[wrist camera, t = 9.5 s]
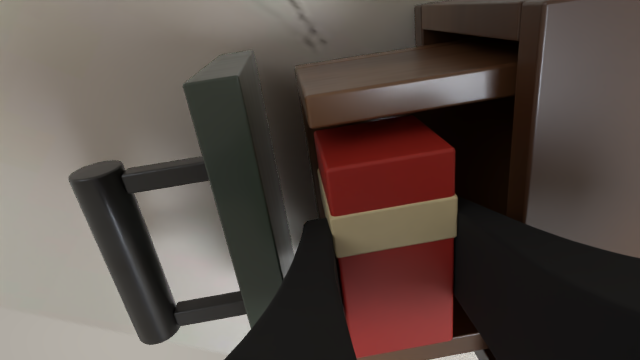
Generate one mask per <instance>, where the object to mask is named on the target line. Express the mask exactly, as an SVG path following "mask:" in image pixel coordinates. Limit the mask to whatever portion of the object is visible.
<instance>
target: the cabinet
mask: <svg viewBox="0 0 640 360" xmlns="http://www.w3.org/2000/svg"><path fill="white" fill-rule="evenodd" d="M414 11H415V43H416V47H419V46H425V45H432V44H438V43H444V42H451V41H457V40H464V39H470V38H476V37H488V38H496V39H504V40H512V41H519V49H518V63H517V77H516V90H515V104H514V118H513V131H512V145H511V159H510V172H509V186H508V200H507V213H506V216H507V217H510V218H512V219H515V220H517V221H519V222H522V223H525V224H527V225H530V226H532V227H535V228H538V229H540V230H543V231H546V232H549V233H551V234H554V235H557V236H560V237H563V238H566V239H569V240H572V241H576V242H579V243H582V244H586V245H589V246H593V247H596V248H600V249H603V250H607V251H611V252H615V253H619V254H623V255H628V256H632V257H637V258H640V0H447V1H440V2H433V3H427V4H420V5H416V6H415V8H414ZM474 352H475V354H476V355H477V357H478V359H479V360H496V359H495V357H494V355H493V354H492V352H491V350H490V349H489V348H488V349H483V350H477V351H474Z"/></svg>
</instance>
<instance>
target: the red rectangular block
mask: <svg viewBox="0 0 640 360" xmlns="http://www.w3.org/2000/svg"><path fill="white" fill-rule="evenodd" d="M314 141H315V148H316V154H317V161H318V168H319V169H318V170H317V173H318V179H319V186H320V193H321V199H322V204H323V208H324V212H325V217H326V218H327V221H328V224H329V227H330V230H331V234H332V238H333V244H334V251H335V256H336V261H337V268H338V275H339V282H340V289H341V296H342V303H343V311H344V315H345V318H346V322H347V326H348V330H349V333H350V337H351V341H352V344H353V348H354V351H355V355H356V358H361V357H367V356H372V355H377V354H383V353H388V352H394V351H399V350H404V349H410V348H415V347H420V346H426V345H431V344H436V343H442V342H447V341H451V340H452V339H453V278H454V238H455V237H456V236H457V214H458V197H457V195H456V194H455V149H454V147H452V146H451V145H450V144H449V143H447V142H446V141H445V140H444V139H442V138H441V137H440V136H439V135H437V134H436V133H435V132H434V131H432V130H431V129H430V128H429V127H427V126H426V125H425V124H424V123H422V122H421V121H420V120H419V119H417V118H416V117H415V116H413V115H409V116H403V117H397V118H391V119H384V120H378V121H372V122H366V123H360V124H354V125H348V126H342V127H335V128H329V129H323V130H317V131H315V132H314Z"/></svg>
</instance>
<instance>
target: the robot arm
mask: <svg viewBox="0 0 640 360" xmlns="http://www.w3.org/2000/svg"><path fill="white" fill-rule="evenodd" d="M457 197H458V214H457V236H456V237H455V238H454V278H453V294H454V296H455V297H456V299H457V300H458V302H459V303H460V305H461V306H462V308H463V309H464V311H465V312H466V314H467V315H468V317H469V319H470V320H471V322H472V323H473V325H474V326H475V328H476V329H477V331H478V332H479V334H480V335H481V337H482V338H483V340H484V341H485V343H486V344H487V346H488V347H489V349H490V350H491V352H492V354H493V355H494V357H495V359H496V360H640V258H637V257H632V256H628V255H623V254H619V253H615V252H611V251H607V250H603V249H600V248H596V247H593V246H589V245H586V244H582V243H579V242H576V241H572V240H569V239H566V238H563V237H560V236H557V235H554V234H551V233H549V232H546V231H543V230H540V229H538V228H535V227H532V226H530V225H527V224H525V223H522V222H519V221H517V220H515V219H512V218H510V217H507V216H505V215H503V214H500V213H498V212H495V211H493V210H491V209H488V208H486V207H484V206H481V205H479V204H477V203H474V202H472V201H469V200H467V199H464V198H462V197H459V196H457ZM225 360H357V358H356V355H355V351H354V348H353V344H352V341H351V337H350V333H349V330H348V326H347V322H346V318H345V315H344V311H343V303H342V296H341V289H340V282H339V275H338V268H337V261H336V256H335V251H334V244H333V238H332V234H331V230H330V227H329V224H328V221H327V218H321V219H316V220H310V221H307V222H306V223H305V224H304V227H303V233H302V237H301V240H300V243H299V246H298V249H297V251H296V254H295V256H294V259H293V261H292V263H291V266H290V268H289V270H288V272H287V274H286V276H285V278H284V280H283V282H282V284H281V285H280V287H279V289H278V291H277V292H276V294H275V296H274V297H273V299H272V301H271V302H270V304H269V305H268V307H267V308H266V310H265V311H264V313H263V314H262V315H261V317H260V318H259V319H258V321H257V322H256V323H255V325H254V326H253V327H252V329H251V330H250V331H249V332H248V334H247V335H246V336H245V337H244V339H243V340H242V341H241V342H240V343H239V344H238V345H237V346H236V347H235V349H234V350H233V351H232V352H231V353H230V354H229V355H228V356H227V357H226V358H225Z"/></svg>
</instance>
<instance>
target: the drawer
mask: <svg viewBox="0 0 640 360" xmlns="http://www.w3.org/2000/svg"><path fill="white" fill-rule="evenodd" d="M518 49H519V41H512V40H504V39H496V38H488V37H476V38H470V39H464V40H457V41H451V42H444V43H438V44H432V45H425V46H419V47H412V48H406V49H399V50H393V51H387V52H380V53H374V54H367V55H361V56H355V57H348V58H342V59H335V60H329V61H323V62H316V63H310V64H303V65H297V66H295V73H296V79H297V85H298V92H299V98H300V104H301V110H302V117H303V123H304V129H305V136H306V142H307V148H308V154H309V161H310V167H311V173H312V180H313V186H314V192H315V199H316V205H317V211H318V217H319V219H321V218H326V217H325V212H324V208H323V204H322V199H321V193H320V186H319V179H318V173H317V170H318V169H319V168H318V161H317V154H316V148H315V141H314V132H315V131H317V130H323V129H329V128H335V127H342V126H348V125H354V124H360V123H366V122H372V121H378V120H384V119H391V118H397V117H403V116H409V115H413V116H415V117H416V118H417V119H419V120H420V121H421V122H422V123H424V124H425V125H426V126H427V127H429V128H430V129H431V130H432V131H434V132H435V133H436V134H437V135H439V136H440V137H441V138H442V139H444V140H445V141H446V142H447V143H449V144H450V145H451V146H452V147H454V149H455V194H456V195H457V196H459V197H462V198H464V199H467V200H469V201H472V202H474V203H477V204H479V205H481V206H484V207H486V208H488V209H491V210H493V211H495V212H498V213H500V214H503V215H505V216H506V213H507V200H508V186H509V172H510V159H511V145H512V131H513V118H514V104H515V90H516V77H517V63H518ZM183 89H184V92H185V96H186V99H187V103H188V106H189V110H190V114H191V117H192V121H193V124H194V128H195V131H196V135H197V138H198V142H199V146H200V149H201V153H202V156H201V157H195V158H188V159H182V160H176V161H170V162H164V163H158V164H152V165H146V166H140V167H133V168H128V169H127V170H125V168H124V165H123V163H122V162H121V161H116V160H112V161H103V162H99V163H95V164H91V165H88V166H85V167H83V168H81V169H79V170H77V171H75V172H73V173H72V174H71V175H70V176H69V179H68V180H69V182H70V185H71V187H72V189H73V191H74V194H75V196H76V198H77V200H78V203H79V205H80V207H81V209H82V211H83V214H84V216H85V218H86V220H87V223H88V225H89V227H90V229H91V232H92V234H93V236H94V238H95V241H96V243H97V245H98V247H99V249H100V252H101V254H102V256H103V258H104V261H105V263H106V265H107V267H108V270H109V272H110V274H111V276H112V279H113V281H114V283H115V285H116V287H117V290H118V292H119V294H120V296H121V299H122V301H123V303H124V305H125V308H126V310H127V312H128V314H129V317H130V319H131V321H132V323H133V325H134V328H135V330H136V332H137V334H138V337H139V339H140V340H141V341H142V342H143V343H145V344H149V345H153V344H158V343H161V342H164V341H166V340H167V339H169V338H171V337H172V336H173V335H174V334H175V333H176V332H177V331H178V330H179V328H180V326H184V325H189V324H195V323H200V322H206V321H212V320H217V319H223V318H228V317H234V316H239V315H245V314H247V316H248V320H249V323H250V327H251V329H252V327H253V326H254V325H255V323H256V322H257V321H258V319H259V318H260V317H261V315H262V314H263V313H264V311H265V310H266V308H267V307H268V305H269V304H270V302H271V301H272V299H273V297H274V296H275V294H276V292H277V291H278V289H279V287H280V285H281V284H282V282H283V280H284V278H285V276H286V274H287V272H288V270H289V268H290V266H291V263H292V261H293V259H294V251H293V246H292V241H291V236H290V231H289V226H288V221H287V216H286V211H285V206H284V201H283V196H282V191H281V186H280V181H279V176H278V171H277V166H276V161H275V156H274V151H273V145H272V140H271V135H270V130H269V125H268V120H267V115H266V110H265V105H264V100H263V95H262V90H261V85H260V80H259V75H258V70H257V65H256V60H255V55H254V51H253V50H248V51H242V52H235V53H229V54H222V55H219V56H218V57H217V58H216V59H214V60H213V61H212V62H211V63H209V64H208V65H207V66H205V67H204V68H203V69H202V70H200V71H199V72H198V73H196V74H195V75H194V76H193V77H191V78H190V79H189V80H187V81H186V82H185V83H184V84H183ZM203 181H210V185H211V188H212V192H213V195H214V199H215V202H216V206H217V210H218V213H219V217H220V220H221V224H222V227H223V231H224V235H225V238H226V242H227V245H228V249H229V252H230V256H231V259H232V263H233V267H234V270H235V274H236V277H237V281H238V284H239V288H240V291H238V292H232V293H227V294H221V295H215V296H210V297H204V298H198V299H193V300H187V301H182V302H178V303H177V305H176V303H175V301H174V298H173V295H172V293H171V290H170V287H169V285H168V282H167V279H166V277H165V274H164V271H163V269H162V266H161V263H160V261H159V258H158V256H157V253H156V250H155V248H154V245H153V242H152V240H151V237H150V234H149V232H148V229H147V226H146V224H145V221H144V218H143V216H142V213H141V210H140V208H139V205H138V202H137V200H136V197H135V194H134V193H137V192H143V191H149V190H155V189H161V188H167V187H173V186H179V185H185V184H191V183H197V182H203ZM488 348H489V347H488V346H487V344H486V343H485V341H484V340H483V338H482V337H481V335H480V334H479V332H478V331H477V329H476V328H475V326H474V325H473V323H472V322H471V320H470V319H469V317H468V315H467V314H466V312H465V311H464V309H463V308H462V306H461V305H460V303H459V302H458V300H457V299H456V297H455V296H454V294H453V339H452V340H451V341H447V342H442V343H436V344H431V345H426V346H420V347H415V348H410V349H404V350H399V351H394V352H388V353H383V354H377V355H372V356H367V357H361V358H357V360H429V359H435V358H440V357H445V356H451V355H456V354H461V353H467V352H472V351H477V350H483V349H488Z"/></svg>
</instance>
